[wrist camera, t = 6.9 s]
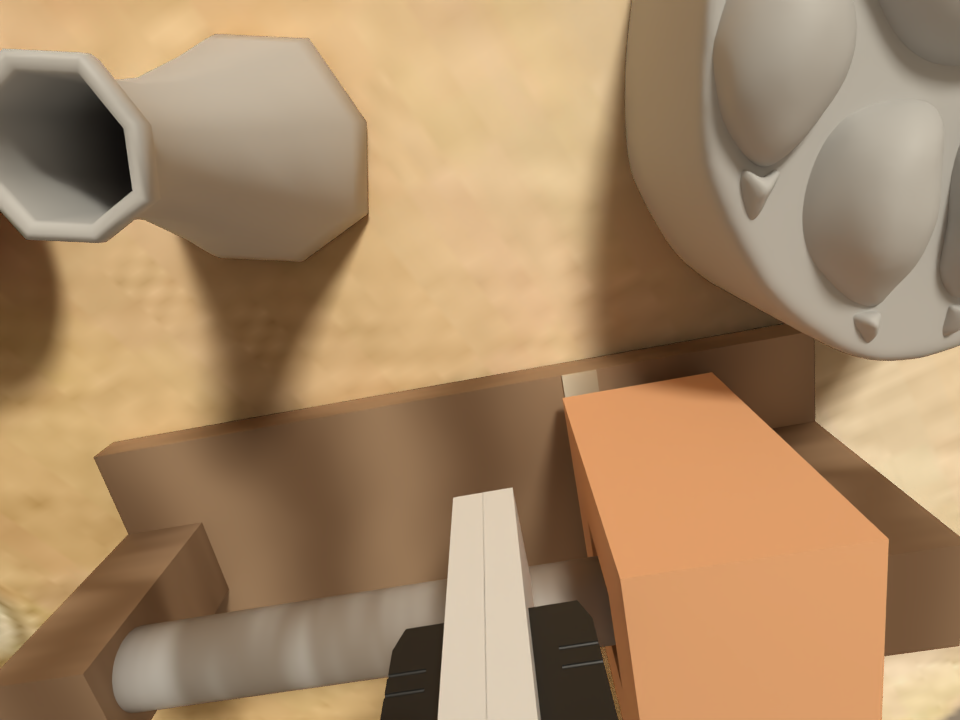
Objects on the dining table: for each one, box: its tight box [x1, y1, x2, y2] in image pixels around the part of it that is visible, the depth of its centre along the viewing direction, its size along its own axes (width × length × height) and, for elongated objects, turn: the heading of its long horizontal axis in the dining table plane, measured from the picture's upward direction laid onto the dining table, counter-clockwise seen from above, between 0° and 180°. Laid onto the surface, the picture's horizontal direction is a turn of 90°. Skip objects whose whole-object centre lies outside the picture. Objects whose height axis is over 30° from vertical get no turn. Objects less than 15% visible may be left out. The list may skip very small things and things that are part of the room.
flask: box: [0, 34, 368, 262], centre depth 15 cm, size 7×7×10 cm
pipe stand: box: [0, 324, 960, 720], centre depth 19 cm, size 26×10×8 cm, turn 101°
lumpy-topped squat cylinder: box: [625, 0, 960, 361], centre depth 14 cm, size 10×13×9 cm
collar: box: [562, 372, 889, 720], centre depth 17 cm, size 5×9×9 cm, turn 11°
